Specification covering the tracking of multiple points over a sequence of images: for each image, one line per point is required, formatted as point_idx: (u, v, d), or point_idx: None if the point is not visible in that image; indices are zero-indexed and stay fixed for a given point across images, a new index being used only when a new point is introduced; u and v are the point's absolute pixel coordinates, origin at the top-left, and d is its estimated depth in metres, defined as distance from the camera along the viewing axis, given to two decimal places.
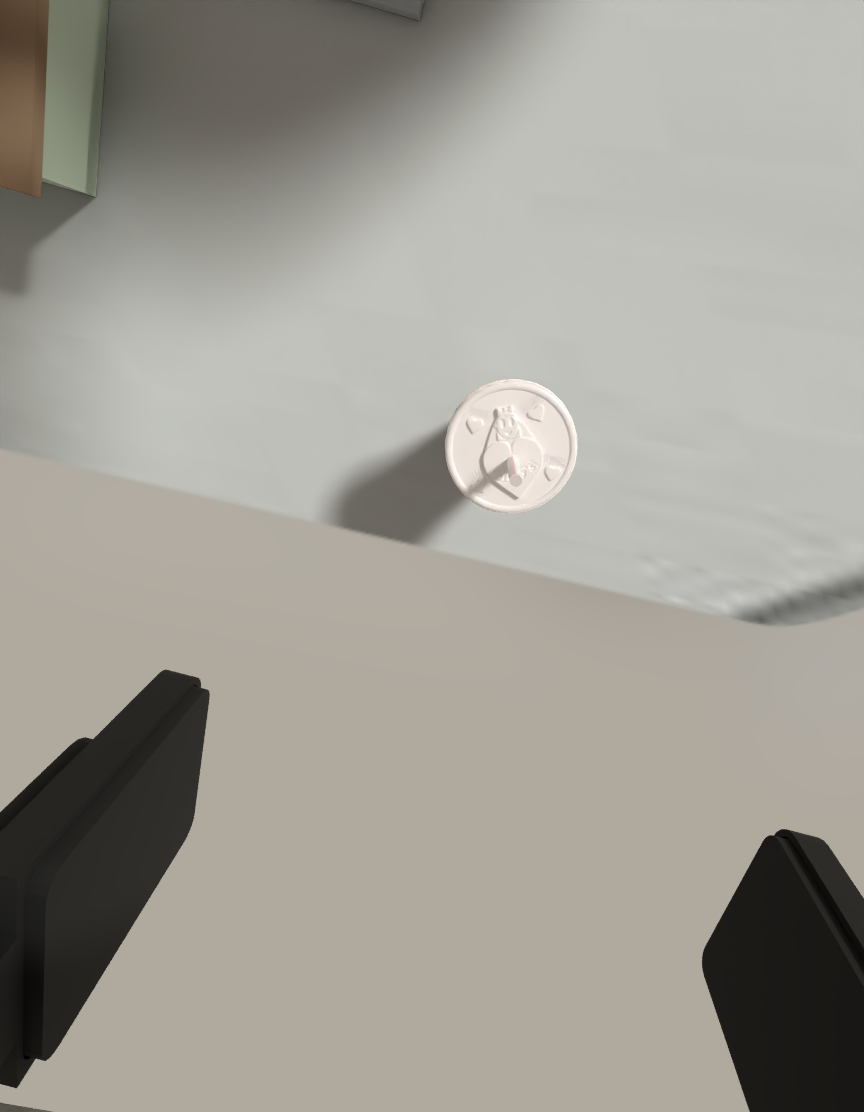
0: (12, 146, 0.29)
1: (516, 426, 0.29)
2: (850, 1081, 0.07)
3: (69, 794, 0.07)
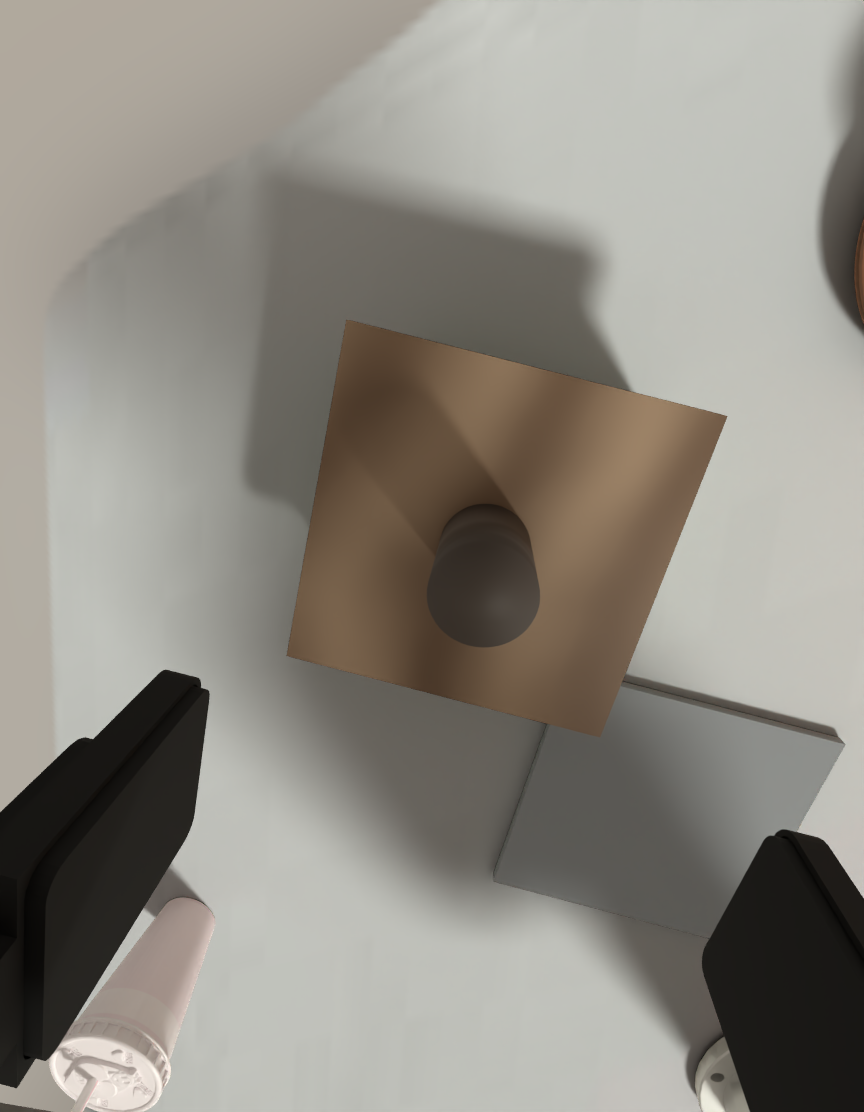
0: (331, 647, 0.26)
1: (123, 1084, 0.33)
2: (850, 1081, 0.07)
3: (69, 795, 0.07)
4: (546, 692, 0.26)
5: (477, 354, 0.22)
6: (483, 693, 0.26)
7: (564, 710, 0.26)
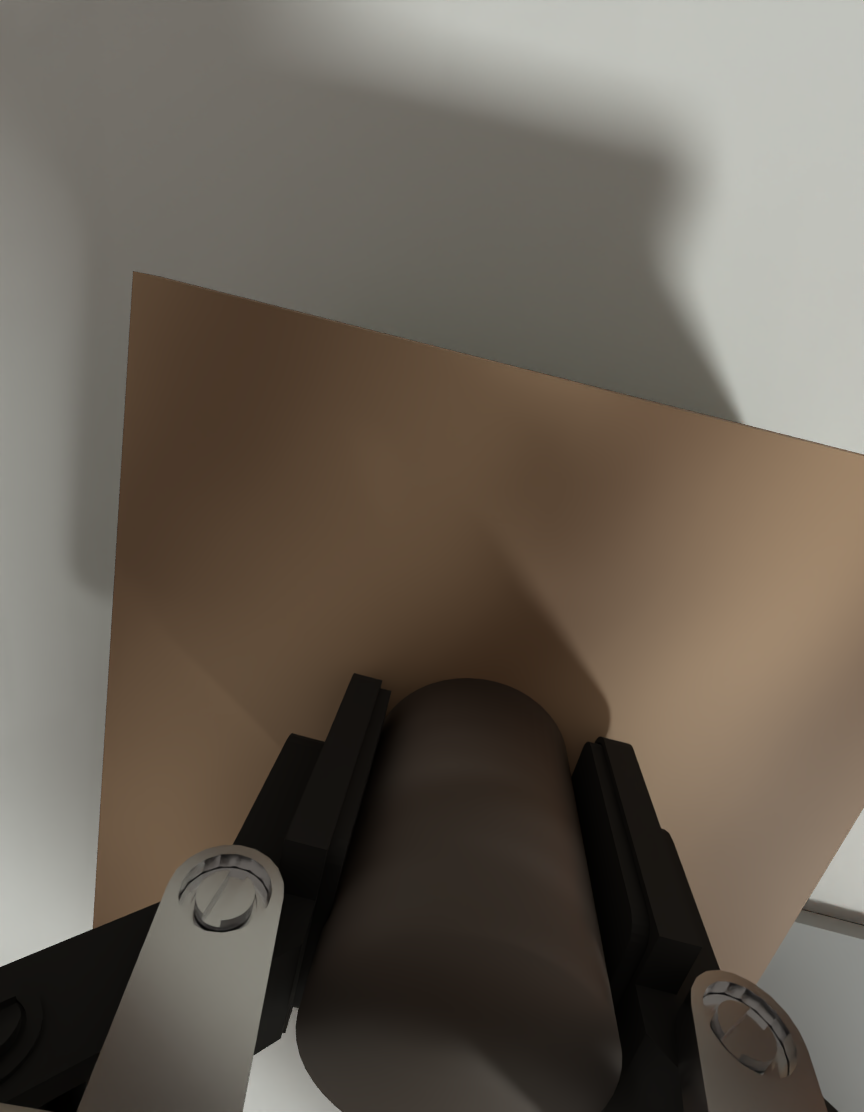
0: None
1: None
2: (600, 924, 0.08)
3: (333, 782, 0.08)
4: None
5: (447, 354, 0.09)
6: None
7: None
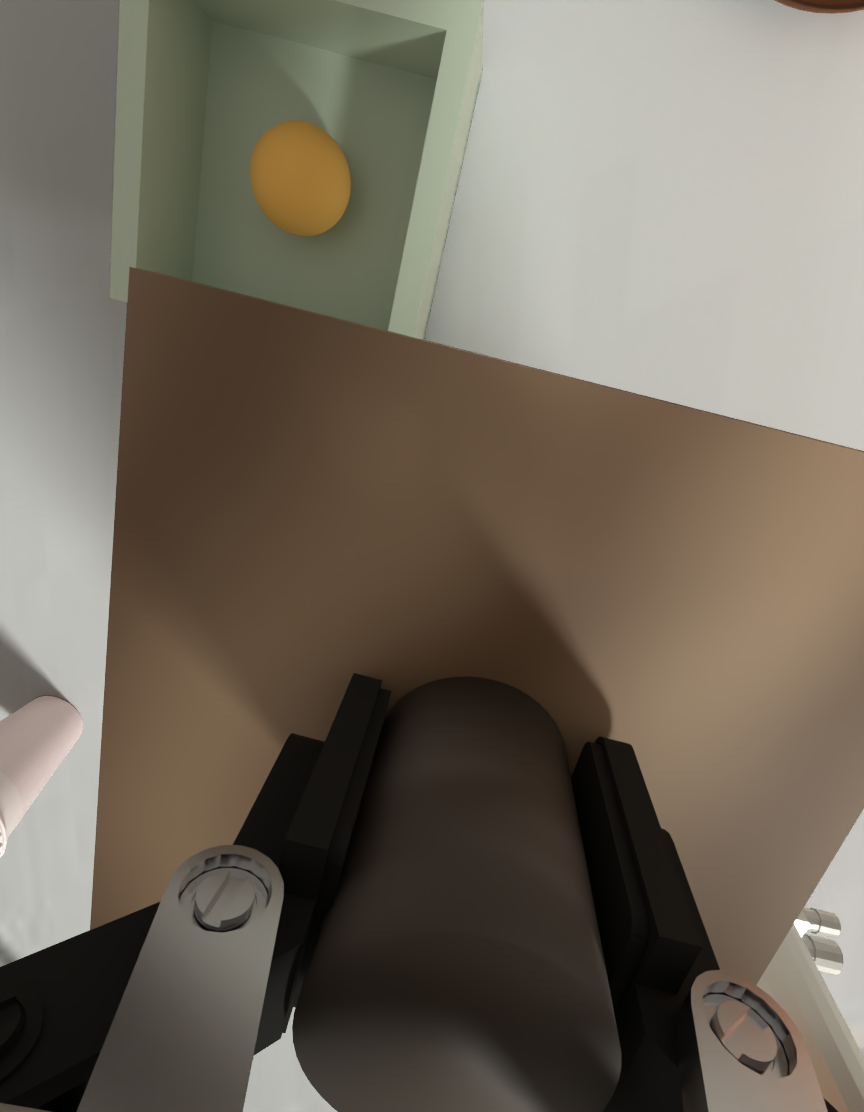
0: None
1: None
2: (600, 923, 0.08)
3: (333, 782, 0.08)
4: None
5: (446, 350, 0.09)
6: None
7: None
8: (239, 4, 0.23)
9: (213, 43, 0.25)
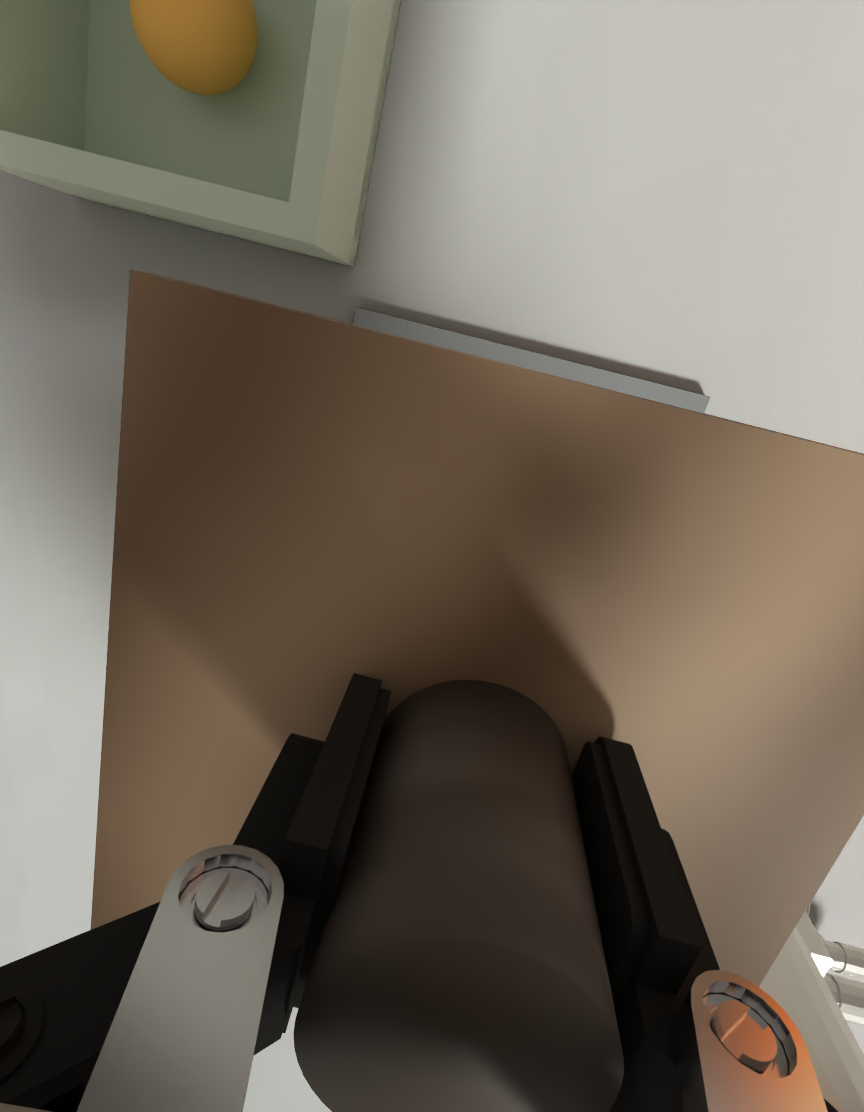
0: None
1: None
2: (600, 924, 0.08)
3: (333, 782, 0.08)
4: None
5: (447, 353, 0.09)
6: None
7: None
8: None
9: None
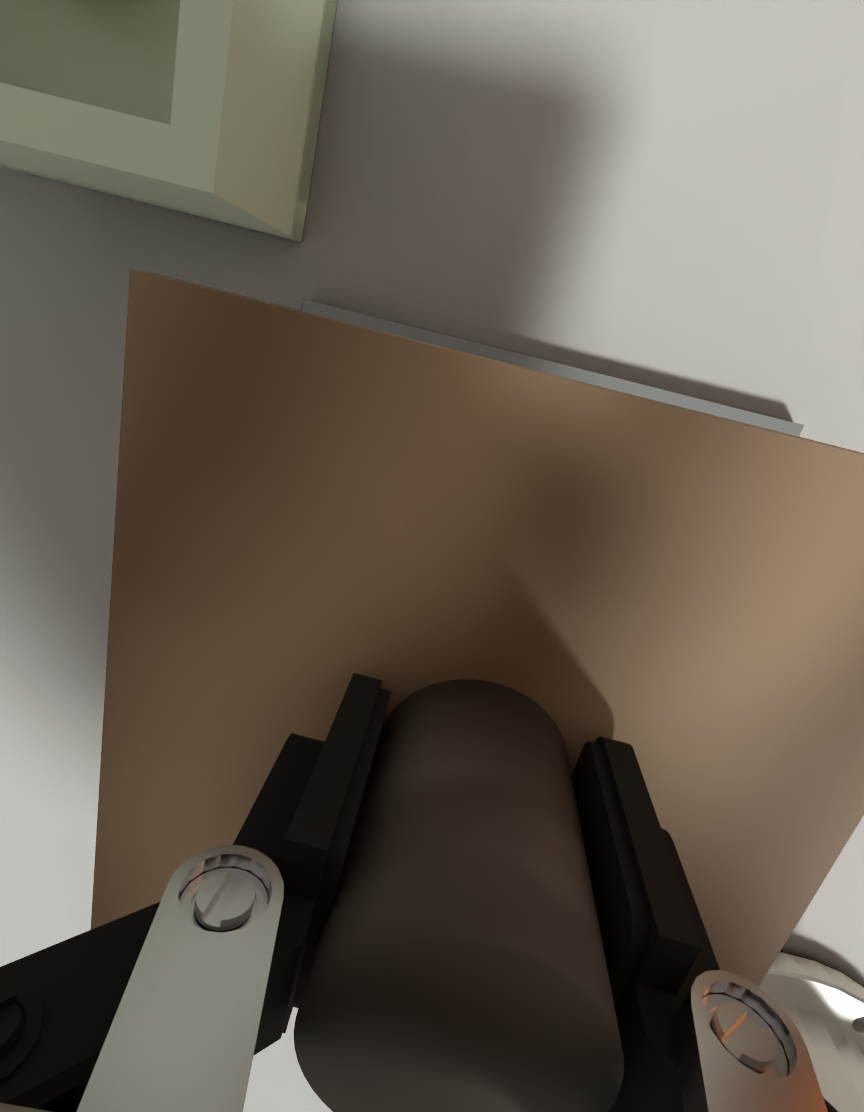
0: None
1: None
2: (600, 924, 0.08)
3: (332, 782, 0.08)
4: None
5: (447, 353, 0.09)
6: None
7: None
8: None
9: None
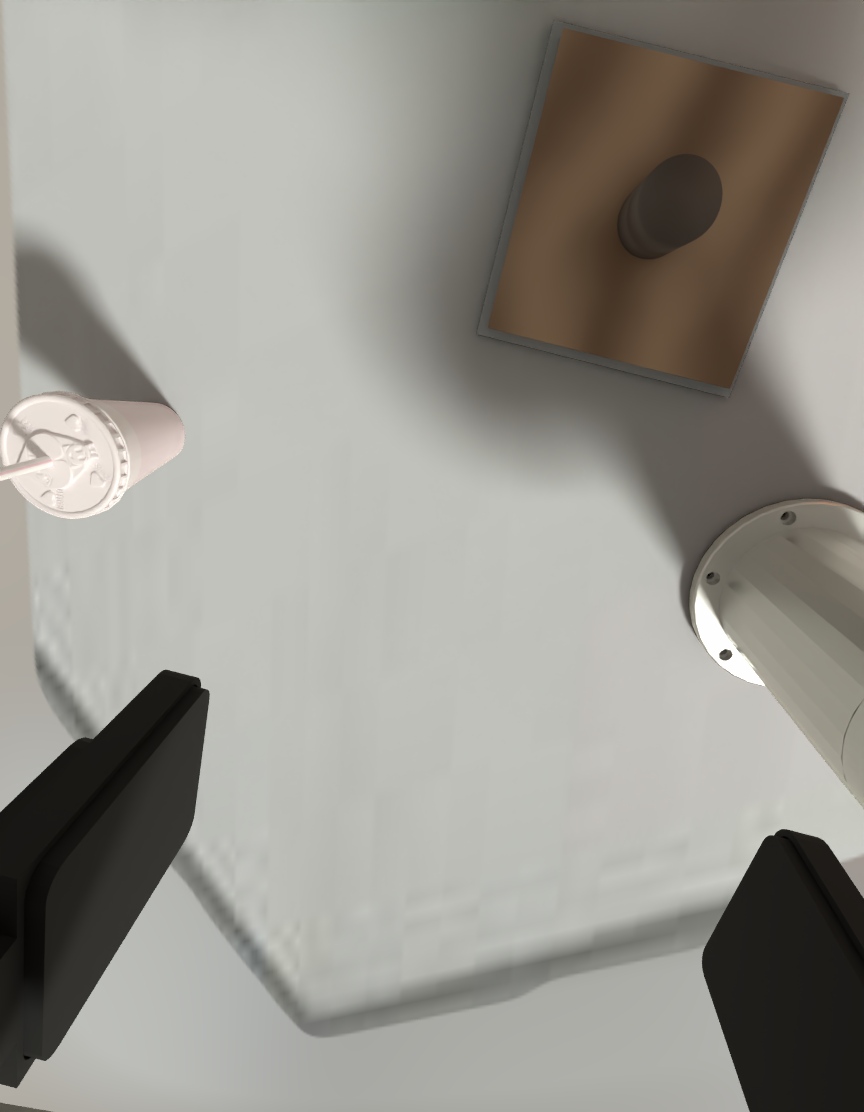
0: (524, 318, 0.34)
1: (79, 463, 0.30)
2: (850, 1081, 0.07)
3: (68, 795, 0.07)
4: (690, 349, 0.34)
5: (660, 53, 0.30)
6: (641, 353, 0.34)
7: (703, 365, 0.34)
8: None
9: None
